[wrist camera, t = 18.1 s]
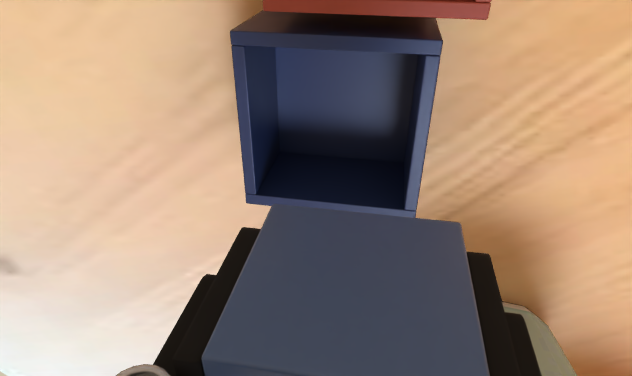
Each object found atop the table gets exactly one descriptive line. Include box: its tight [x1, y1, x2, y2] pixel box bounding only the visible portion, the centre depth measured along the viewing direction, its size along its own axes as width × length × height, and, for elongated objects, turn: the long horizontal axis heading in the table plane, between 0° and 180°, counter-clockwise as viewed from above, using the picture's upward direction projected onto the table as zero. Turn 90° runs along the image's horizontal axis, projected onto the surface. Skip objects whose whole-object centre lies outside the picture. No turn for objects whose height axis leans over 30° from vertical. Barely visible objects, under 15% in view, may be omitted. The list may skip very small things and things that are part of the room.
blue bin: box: [230, 10, 443, 218], centre depth 22 cm, size 9×9×6 cm
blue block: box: [202, 204, 490, 376], centre depth 9 cm, size 4×4×4 cm
